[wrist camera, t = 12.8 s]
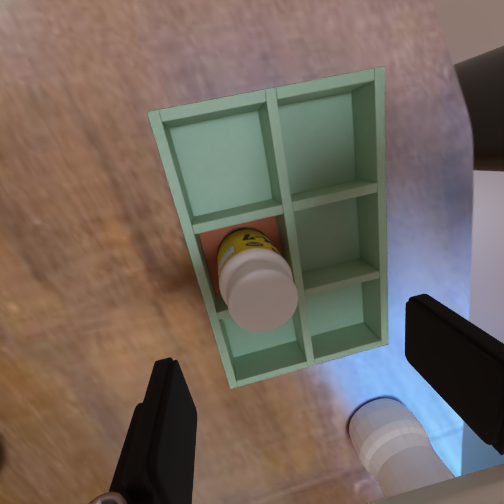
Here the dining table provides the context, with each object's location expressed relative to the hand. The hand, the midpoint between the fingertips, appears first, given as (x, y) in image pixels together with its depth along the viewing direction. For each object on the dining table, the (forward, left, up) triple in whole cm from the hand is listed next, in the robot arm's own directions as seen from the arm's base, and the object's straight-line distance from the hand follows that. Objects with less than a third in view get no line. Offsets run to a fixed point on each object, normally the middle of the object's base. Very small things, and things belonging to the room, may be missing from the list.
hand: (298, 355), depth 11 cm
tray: (-3, 0, -14) cm, 14 cm away
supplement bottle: (0, 0, -13) cm, 13 cm away
